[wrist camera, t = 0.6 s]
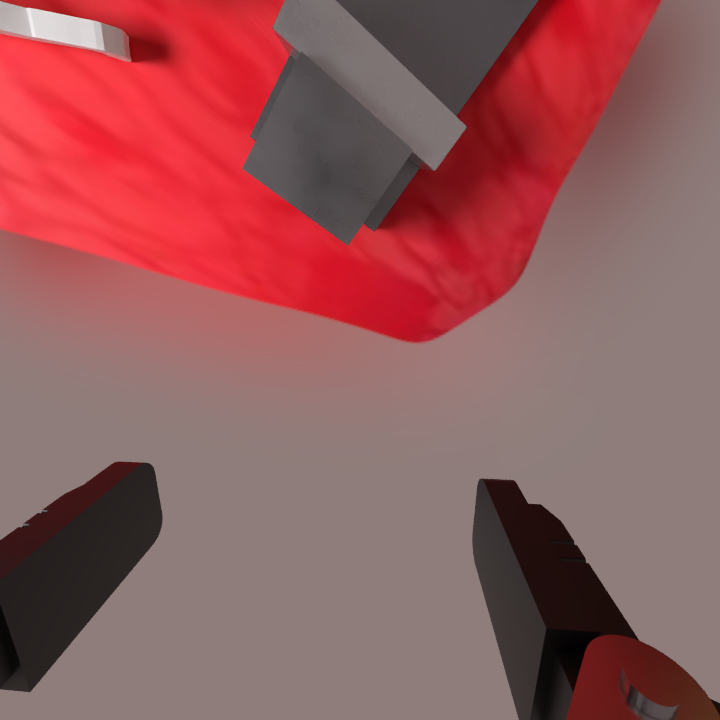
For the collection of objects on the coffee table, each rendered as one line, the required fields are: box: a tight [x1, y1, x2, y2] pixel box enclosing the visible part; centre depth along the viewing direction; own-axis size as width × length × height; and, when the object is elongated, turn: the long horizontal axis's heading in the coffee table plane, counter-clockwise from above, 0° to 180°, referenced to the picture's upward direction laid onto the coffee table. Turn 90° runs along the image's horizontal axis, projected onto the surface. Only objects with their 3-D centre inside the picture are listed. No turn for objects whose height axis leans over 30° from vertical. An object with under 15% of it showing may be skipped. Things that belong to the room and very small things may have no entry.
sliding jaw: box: [242, 0, 467, 245], centre depth 25 cm, size 12×10×7 cm
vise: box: [250, 0, 538, 232], centre depth 23 cm, size 12×25×8 cm, turn 144°
